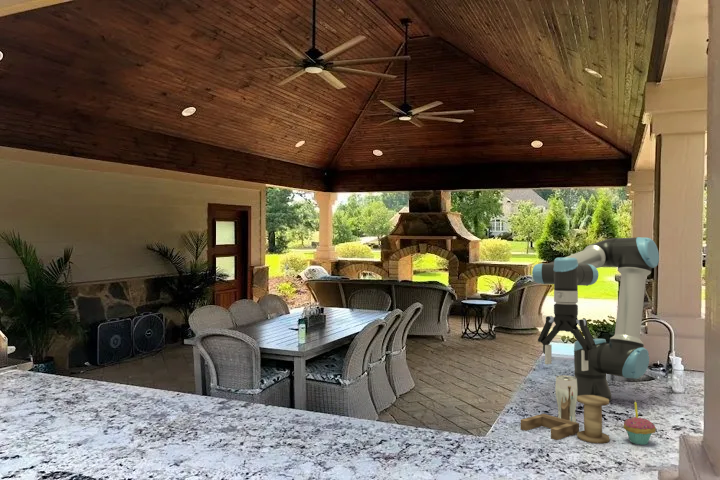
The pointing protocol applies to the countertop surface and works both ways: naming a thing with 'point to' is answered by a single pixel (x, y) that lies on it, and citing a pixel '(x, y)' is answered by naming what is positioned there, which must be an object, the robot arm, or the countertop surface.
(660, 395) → the countertop surface
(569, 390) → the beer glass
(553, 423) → the u-shaped block
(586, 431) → the bobbin
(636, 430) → the cupcake
